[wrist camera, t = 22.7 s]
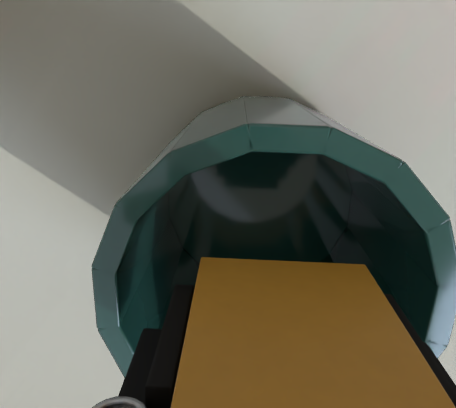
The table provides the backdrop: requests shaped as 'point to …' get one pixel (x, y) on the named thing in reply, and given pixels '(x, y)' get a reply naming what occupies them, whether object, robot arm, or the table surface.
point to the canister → (272, 217)
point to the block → (298, 341)
